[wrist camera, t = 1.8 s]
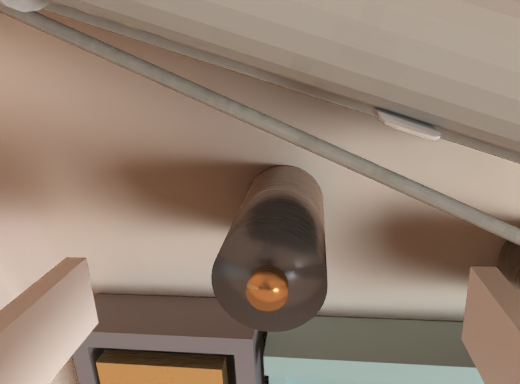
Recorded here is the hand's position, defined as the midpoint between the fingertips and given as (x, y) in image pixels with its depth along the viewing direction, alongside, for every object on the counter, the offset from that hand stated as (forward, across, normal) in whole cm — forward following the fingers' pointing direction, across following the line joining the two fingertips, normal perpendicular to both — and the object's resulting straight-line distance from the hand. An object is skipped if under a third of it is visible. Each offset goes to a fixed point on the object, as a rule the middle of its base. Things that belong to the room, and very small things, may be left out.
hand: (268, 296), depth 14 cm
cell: (+8, 0, +1) cm, 8 cm away
